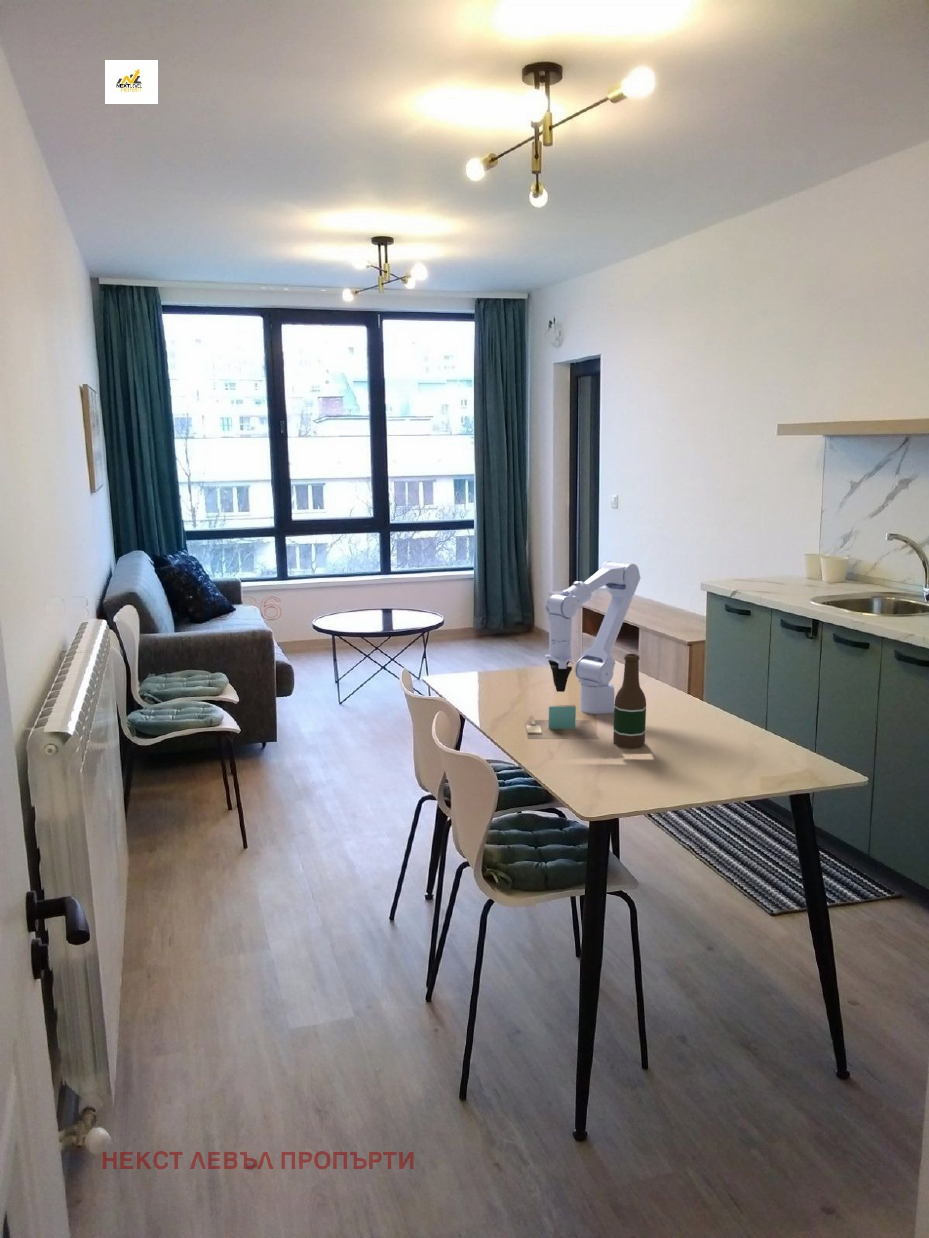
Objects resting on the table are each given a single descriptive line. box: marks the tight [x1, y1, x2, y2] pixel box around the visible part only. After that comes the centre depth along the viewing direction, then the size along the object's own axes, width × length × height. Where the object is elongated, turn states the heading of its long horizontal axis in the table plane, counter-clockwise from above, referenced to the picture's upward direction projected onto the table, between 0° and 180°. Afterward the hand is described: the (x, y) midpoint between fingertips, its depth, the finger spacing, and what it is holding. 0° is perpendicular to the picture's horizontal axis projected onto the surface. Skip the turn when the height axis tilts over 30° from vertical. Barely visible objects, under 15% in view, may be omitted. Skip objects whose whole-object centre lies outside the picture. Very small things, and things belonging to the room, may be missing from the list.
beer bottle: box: [612, 653, 647, 750], centre depth 221 cm, size 8×8×24 cm
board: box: [523, 719, 599, 740], centre depth 235 cm, size 18×16×1 cm
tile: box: [547, 704, 577, 729], centre depth 235 cm, size 7×2×6 cm, turn 90°
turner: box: [525, 715, 542, 734], centre depth 237 cm, size 4×14×1 cm, turn 0°
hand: (559, 688), depth 242 cm, fingers open, 5 cm apart
